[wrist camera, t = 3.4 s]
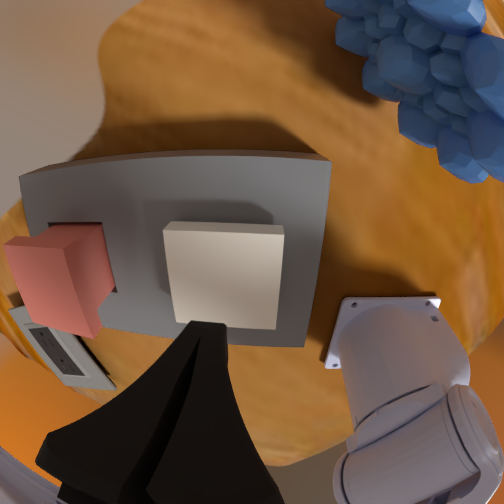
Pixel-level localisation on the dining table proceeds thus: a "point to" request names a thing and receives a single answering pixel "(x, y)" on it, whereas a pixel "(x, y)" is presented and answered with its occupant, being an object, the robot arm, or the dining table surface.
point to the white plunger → (225, 272)
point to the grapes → (434, 75)
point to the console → (189, 210)
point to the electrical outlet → (62, 353)
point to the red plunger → (63, 275)
